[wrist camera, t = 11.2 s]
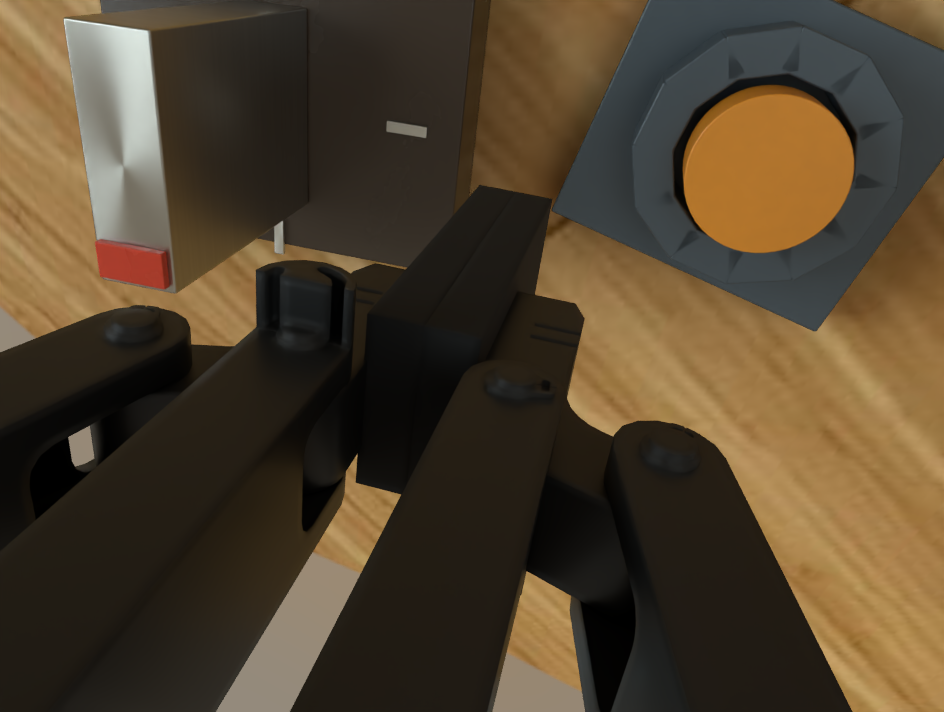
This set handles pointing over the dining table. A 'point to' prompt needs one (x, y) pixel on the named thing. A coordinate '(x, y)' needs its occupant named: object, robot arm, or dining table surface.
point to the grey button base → (740, 67)
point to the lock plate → (382, 121)
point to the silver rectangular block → (189, 132)
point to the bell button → (767, 169)
